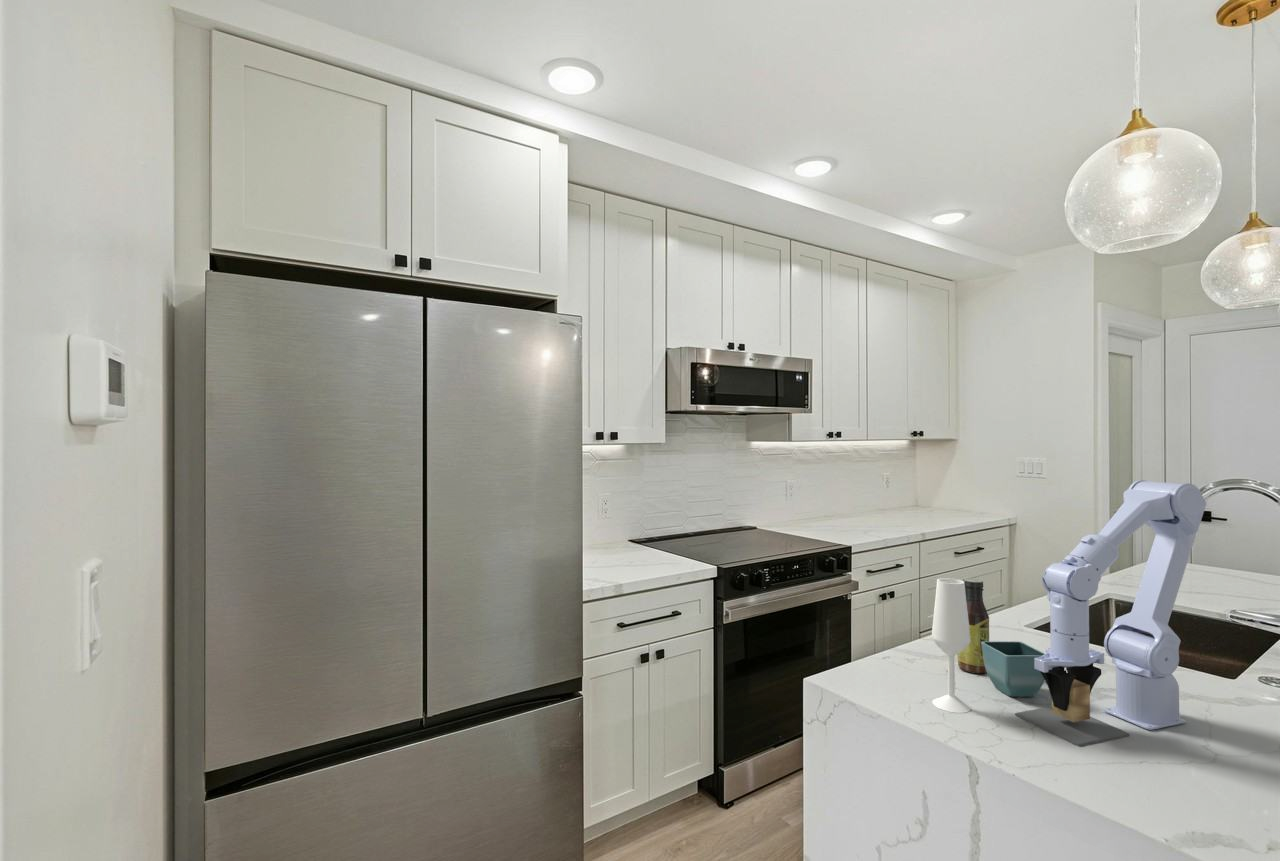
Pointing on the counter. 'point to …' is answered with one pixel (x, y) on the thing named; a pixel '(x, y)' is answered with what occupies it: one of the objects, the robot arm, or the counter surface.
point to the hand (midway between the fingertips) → (1069, 706)
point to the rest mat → (1072, 727)
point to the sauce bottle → (975, 628)
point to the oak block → (1076, 703)
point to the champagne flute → (951, 634)
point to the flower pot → (1012, 667)
